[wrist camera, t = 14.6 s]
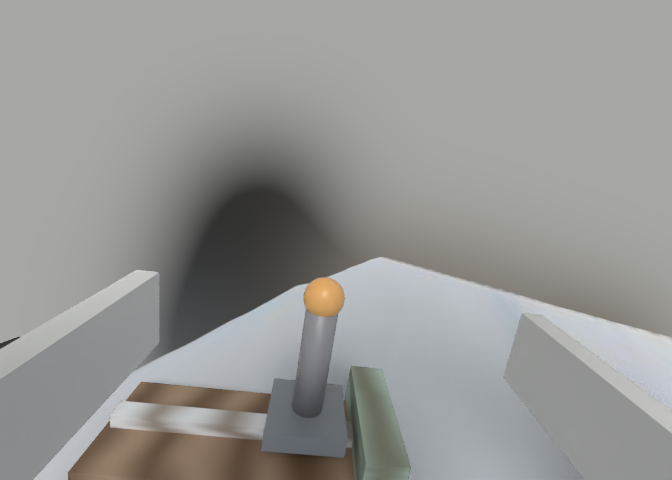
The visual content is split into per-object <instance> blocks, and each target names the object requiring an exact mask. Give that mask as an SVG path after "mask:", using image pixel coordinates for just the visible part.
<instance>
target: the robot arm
mask: <svg viewBox="0 0 672 480" xmlns="http://www.w3.org/2000/svg"><path fill="white" fill-rule="evenodd" d="M158 343H159V273H158V272H150V271H142V270H136V271H134V272H132V273H130V274H129V275H127V276H125V277H124V278H122V279H120V280H118V281H117V282H115V283H114V284H111V285H110V286H108V287H106V288H105V289H103V290H101V291H100V292H98V293H96V294H94V295H93V296H91V297H89V298H87V299H86V300H84V301H82V302H81V303H79V304H77V305H76V306H74V307H72V308H70V309H68V310H67V311H65V312H63V313H62V314H60V315H58V316H56V317H55V318H53V319H51V320H50V321H48V322H46V323H44V324H43V325H41V326H39V327H38V328H36V329H34V330H32V331H31V332H29V333H27V334H26V335H24V336H22V337H17V338H14V339H11V340H9V341H6V342H3V343H0V480H33V479H34V478H35V477H36V476H37V475H38V474H39V473H40V472H41V470H42V469H43V468H44V467H45V466H46V465H47V464H48V463H49V462H50V461H51V460H52V458H53V457H54V456H55V455H56V454H57V453H58V452H59V451H60V450H61V449H62V448H63V447H64V445H65V444H66V443H67V442H68V441H69V440H70V439H71V438H72V437H73V436H74V435H75V434H76V432H77V431H78V430H79V429H80V428H81V427H82V426H83V425H84V424H85V423H86V422H87V420H88V419H89V418H90V417H91V416H92V415H93V414H94V413H95V412H96V411H97V410H98V409H99V407H100V406H101V405H102V404H103V403H104V402H105V401H106V400H107V399H108V398H109V397H110V396H111V394H112V393H113V392H114V391H115V390H116V389H117V388H118V387H119V386H120V385H121V384H122V382H123V381H124V380H125V379H126V378H127V377H128V376H129V375H130V374H131V373H132V372H133V371H134V369H135V368H136V367H137V366H138V365H139V364H140V363H141V362H142V361H143V360H144V359H145V357H146V356H147V355H148V354H149V353H150V352H151V351H152V350H153V349H154V348H155V347H156V345H157V344H158ZM503 378H504V379H505V380H506V382H507V383H508V384H509V385H510V387H511V388H512V389H513V390H514V392H515V393H516V394H517V395H518V397H519V398H520V399H521V400H522V402H523V403H524V404H525V405H526V407H527V408H528V409H529V411H530V412H531V413H532V414H533V416H534V417H535V418H536V419H537V421H538V422H539V423H540V424H541V426H542V427H543V428H544V429H545V431H546V432H547V433H548V434H549V436H550V437H551V438H552V440H553V441H554V442H555V443H556V445H557V446H558V447H559V448H560V450H561V451H562V452H563V453H564V455H565V456H566V457H567V458H568V460H569V461H570V462H571V463H572V465H573V466H574V467H575V469H576V470H577V471H578V472H579V474H580V475H581V476H582V477H583V479H584V480H672V411H671V410H670V409H668V408H667V407H665V406H664V405H663V404H661V403H660V402H659V401H657V400H656V399H655V398H653V397H652V396H651V395H649V394H648V393H647V392H645V391H644V390H642V389H641V388H640V387H638V386H637V385H636V384H634V383H633V382H632V381H630V380H629V379H628V378H626V377H625V376H624V375H622V374H621V373H619V372H618V371H617V370H615V369H614V368H613V367H611V366H610V365H609V364H607V363H606V362H605V361H603V360H602V359H601V358H599V357H598V356H596V355H595V354H594V353H592V352H591V351H590V350H588V349H587V348H586V347H584V346H583V345H582V344H580V343H579V342H578V341H576V340H575V339H573V338H572V337H571V336H569V335H568V334H567V333H565V332H564V331H563V330H561V329H560V328H559V327H557V326H556V325H555V324H553V323H552V322H550V321H549V320H548V319H546V318H545V317H544V316H542V315H536V314H527V313H522V314H521V318H520V321H519V325H518V328H517V332H516V335H515V339H514V342H513V346H512V349H511V353H510V356H509V360H508V363H507V367H506V370H505V374H504V377H503Z"/></svg>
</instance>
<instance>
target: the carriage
mask: <svg viewBox="0 0 672 480" xmlns="http://www.w3.org/2000/svg"><path fill="white" fill-rule="evenodd" d="M344 299H345V298H344V292H343V289H342V287H341V286H340V284H339V283H338V282H336V281H335V280H333V279H331V278H326V277H322V278H318V279H315V280H313V281H312V282H311V283H310V284H309V285H308V286H307V288H306V289H305V292H304V304H305V307H306V312H305V319H304V326H303V333H302V340H301V347H300V354H299V361H298V368H297V375H296V381H295V380H285V379H274V384H273V389H272V393H271V398H270V403H269V408H268V413H267V418H266V423H265V427H264V432H263V440H262V448H261V451H267V452H280V453H292V454H304V455H316V456H328V457H341V458H344V456H345V451H346V446H347V431H346V421H345V411H344V401H343V391H342V385H335V384H326V383H327V377H328V371H329V365H330V359H331V353H332V347H333V341H334V335H335V329H336V323H337V317H338V313H339V312H340V310H341V309H342V307H343V305H344Z"/></svg>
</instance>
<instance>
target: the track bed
mask: <svg viewBox="0 0 672 480" xmlns="http://www.w3.org/2000/svg"><path fill="white" fill-rule="evenodd" d="M270 398H271V394H263V393H253V392H243V391H232V390H222V389H212V388H201V387H191V386H180V385H170V384H160V383H149V382H141V383H140V384H139V385H138V386H137V388H136V389H135V390H134V391H133V392H132V394H131V395H130V396H129V397H128V399H127V400H126V401H121V402H120V403H119V404H118V406H117V407H116V408H115V409H114V410H113V412H112V413H111V414H110V421H109V422H108V424H107V425H106V426H105V427H104V429H103V430H102V431H101V432H100V434H99V435H98V436H97V437H96V438H95V440H94V441H93V442H92V443H91V445H90V446H89V447H88V448H87V450H86V451H85V452H84V453H83V455H82V456H81V457H80V458H79V460H78V461H77V462H76V463H75V465H74V466H73V467H72V468H71V470H70V471H69V472H68V480H408V477H409V473H410V469H411V466H410V463H409V460H408V456H407V453H406V450H405V446H404V443H403V439H402V436H401V433H400V429H399V426H398V423H397V419H396V416H395V413H394V409H393V406H392V403H391V399H390V396H389V392H388V389H387V386H386V382H385V379H384V376H383V372H382V369H376V368H366V367H357V366H351V369H350V374H349V380H348V385H347V391H346V396H345V401H344V411H345V421H346V431H347V446H346V451H345V456H344V458H341V457H328V456H316V455H304V454H292V453H280V452H267V451H261V448H262V440H263V432H264V427H265V423H266V418H267V413H268V408H269V403H270Z"/></svg>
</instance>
